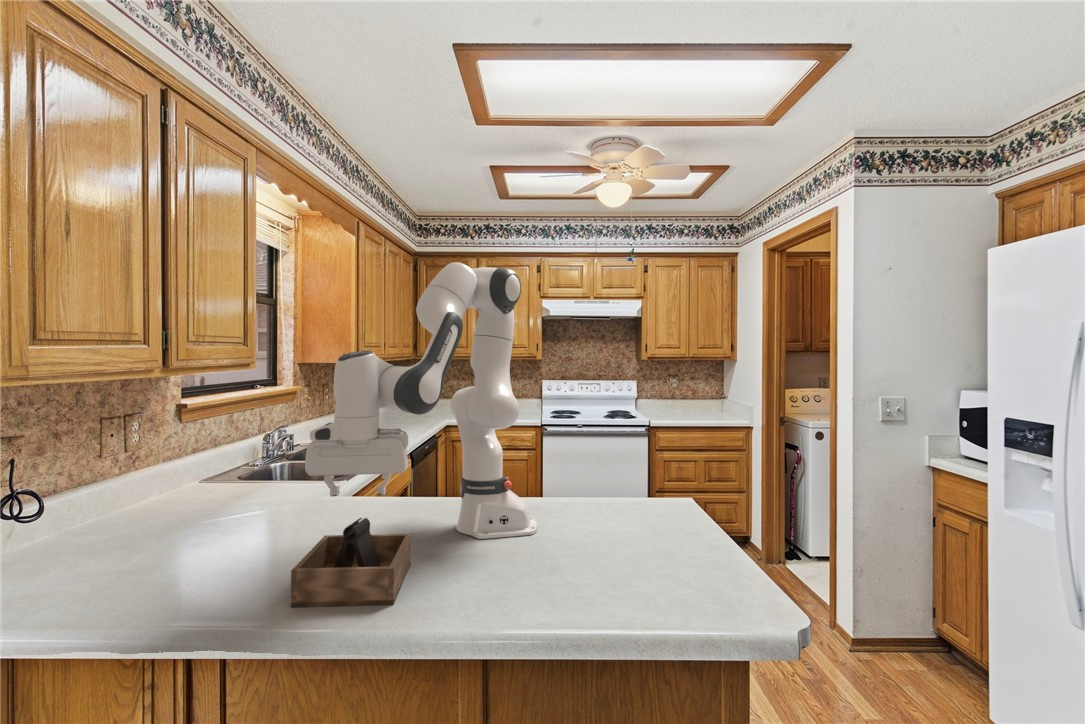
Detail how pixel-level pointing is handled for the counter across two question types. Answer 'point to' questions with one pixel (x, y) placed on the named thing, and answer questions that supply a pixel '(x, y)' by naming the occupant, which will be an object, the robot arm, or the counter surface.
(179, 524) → the counter surface
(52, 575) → the counter surface
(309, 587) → the walnut box
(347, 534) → the phone stand
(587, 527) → the counter surface
